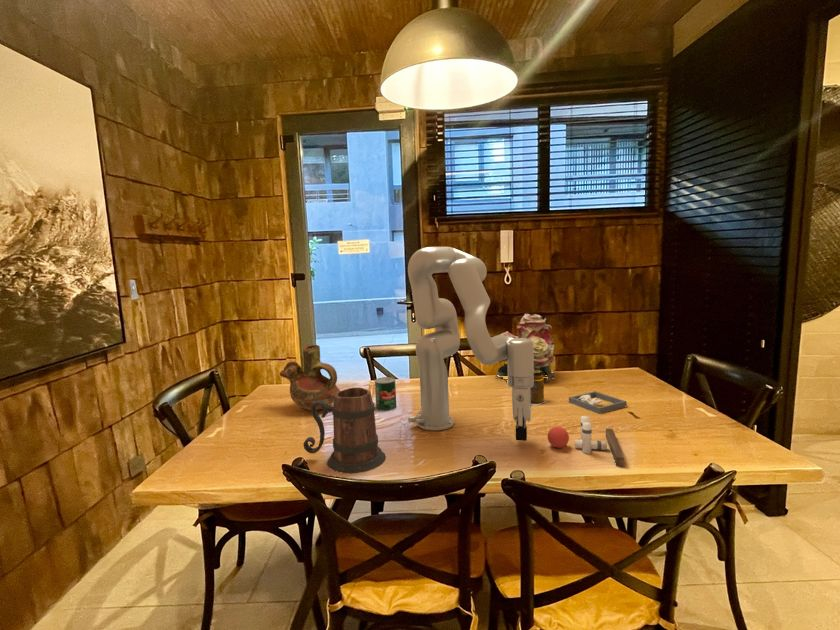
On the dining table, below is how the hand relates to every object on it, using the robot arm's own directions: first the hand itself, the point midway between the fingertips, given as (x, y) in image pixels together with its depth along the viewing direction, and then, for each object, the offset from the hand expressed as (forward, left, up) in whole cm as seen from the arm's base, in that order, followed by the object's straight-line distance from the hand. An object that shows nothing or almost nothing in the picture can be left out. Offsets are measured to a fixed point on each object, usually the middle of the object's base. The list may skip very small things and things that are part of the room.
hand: (521, 439), depth 136 cm
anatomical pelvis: (+43, +15, -2) cm, 45 cm away
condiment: (+29, +28, -2) cm, 40 cm away
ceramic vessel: (-47, +68, -2) cm, 83 cm away
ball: (+8, -7, +2) cm, 11 cm away
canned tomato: (-22, +53, -2) cm, 57 cm away
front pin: (+12, -10, 0) cm, 15 cm away
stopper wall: (+20, -17, -2) cm, 26 cm away
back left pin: (+16, -10, -2) cm, 19 cm away
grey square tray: (+46, +13, -2) cm, 48 cm away
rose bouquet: (+47, +53, -2) cm, 71 cm away
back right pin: (+12, -14, -2) cm, 19 cm away
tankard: (-49, +18, -2) cm, 53 cm away
